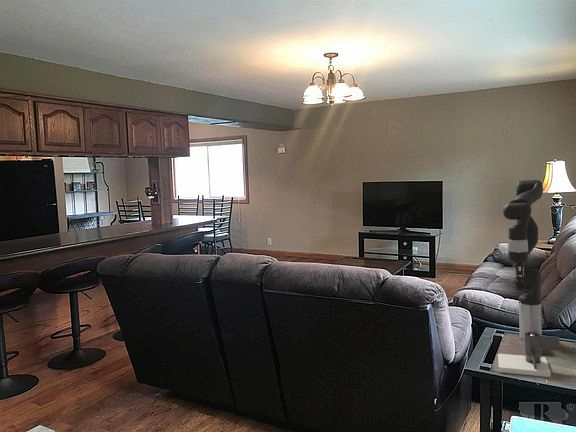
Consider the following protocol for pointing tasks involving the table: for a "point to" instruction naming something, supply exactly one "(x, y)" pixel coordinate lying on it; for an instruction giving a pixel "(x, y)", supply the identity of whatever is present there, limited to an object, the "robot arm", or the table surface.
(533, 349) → the grey rectangular block
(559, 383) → the table surface
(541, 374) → the board
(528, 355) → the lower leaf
